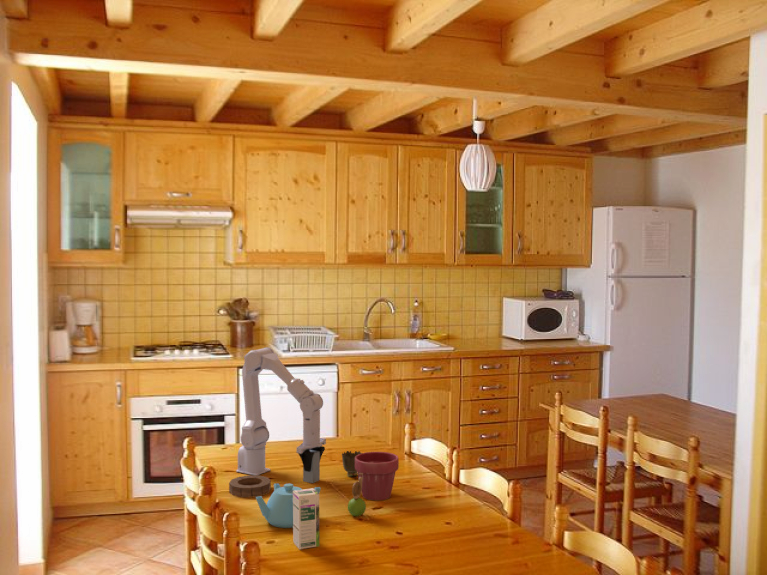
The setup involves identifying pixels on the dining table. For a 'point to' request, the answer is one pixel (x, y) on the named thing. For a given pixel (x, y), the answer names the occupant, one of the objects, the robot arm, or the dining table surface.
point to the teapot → (280, 505)
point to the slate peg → (313, 469)
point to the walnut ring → (249, 486)
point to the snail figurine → (357, 499)
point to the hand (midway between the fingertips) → (311, 469)
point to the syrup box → (306, 518)
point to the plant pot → (377, 473)
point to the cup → (350, 463)
